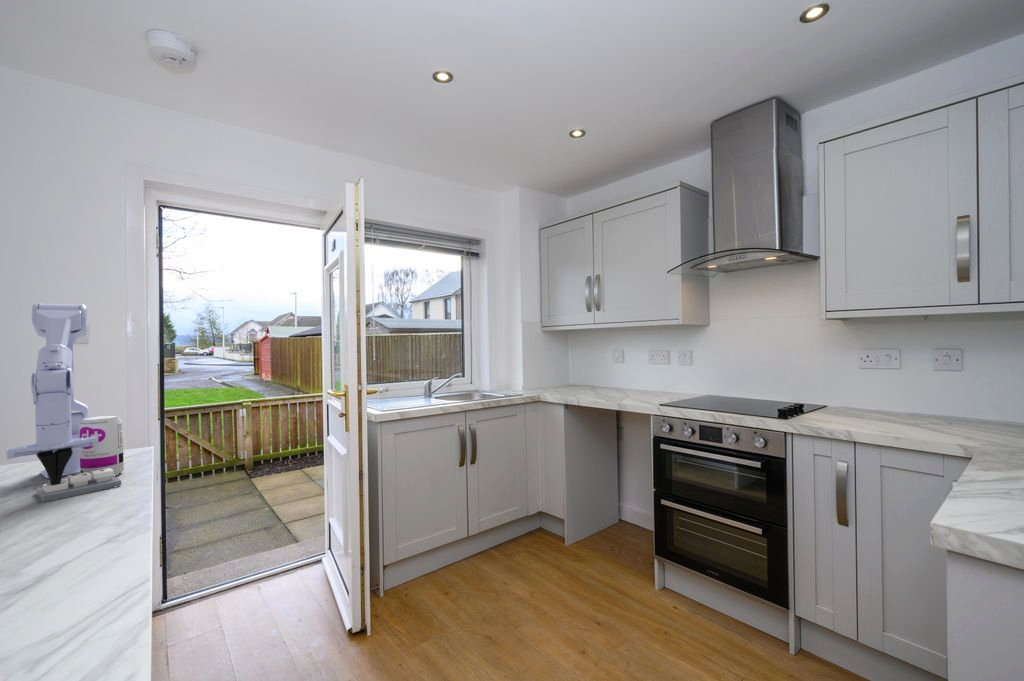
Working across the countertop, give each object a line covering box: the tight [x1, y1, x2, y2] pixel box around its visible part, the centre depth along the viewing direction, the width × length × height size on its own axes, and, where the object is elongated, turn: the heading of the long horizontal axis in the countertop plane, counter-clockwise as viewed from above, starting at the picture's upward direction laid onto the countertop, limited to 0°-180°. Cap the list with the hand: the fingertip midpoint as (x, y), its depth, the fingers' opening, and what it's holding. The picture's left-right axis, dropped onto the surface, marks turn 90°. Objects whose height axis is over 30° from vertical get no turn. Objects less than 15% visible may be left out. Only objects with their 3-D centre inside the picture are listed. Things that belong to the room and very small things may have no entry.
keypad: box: [35, 476, 122, 503], centre depth 106 cm, size 9×13×1 cm
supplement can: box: [79, 414, 125, 478], centre depth 117 cm, size 8×8×15 cm
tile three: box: [42, 480, 68, 493], centre depth 103 cm, size 4×4×2 cm
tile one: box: [91, 468, 114, 483], centre depth 109 cm, size 4×4×2 cm
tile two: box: [66, 472, 91, 487], centre depth 106 cm, size 4×4×2 cm
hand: (55, 483), depth 103 cm, fingers closed, pressing on tile three
